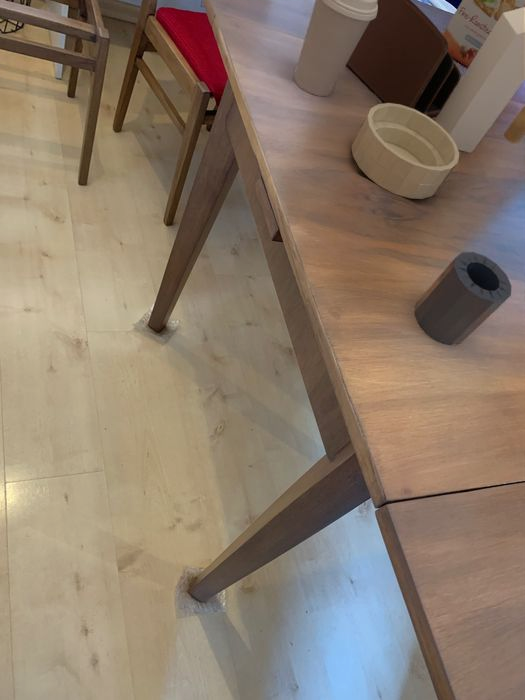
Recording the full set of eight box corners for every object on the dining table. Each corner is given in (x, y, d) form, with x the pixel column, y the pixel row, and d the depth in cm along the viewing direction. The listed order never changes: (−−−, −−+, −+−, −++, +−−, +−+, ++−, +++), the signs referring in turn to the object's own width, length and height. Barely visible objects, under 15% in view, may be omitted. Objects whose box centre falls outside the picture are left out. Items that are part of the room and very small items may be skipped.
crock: (465, 316, 70) (512, 269, 63) (460, 358, 65) (510, 312, 58) (416, 292, 70) (457, 242, 63) (407, 332, 65) (451, 283, 58)
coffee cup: (331, 110, 88) (375, 13, 76) (277, 81, 87) (313, -21, 76) (345, 85, 94) (389, -9, 82) (295, 58, 93) (331, -40, 82)
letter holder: (402, 123, 93) (451, 39, 82) (331, 51, 99) (367, -35, 88) (438, 116, 98) (488, 37, 87) (368, 49, 104) (407, -33, 93)
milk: (441, 146, 92) (531, 10, 75) (431, 124, 96) (516, -11, 78) (471, 153, 94) (567, 22, 77) (461, 131, 97) (550, 1, 80)
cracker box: (434, 47, 114) (499, -68, 98) (444, 40, 118) (508, -72, 102) (491, 85, 113) (567, -26, 96) (499, 77, 116) (573, -31, 100)
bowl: (440, 166, 89) (463, 134, 84) (429, 217, 80) (454, 184, 75) (360, 124, 88) (378, 90, 83) (340, 172, 79) (358, 136, 74)
